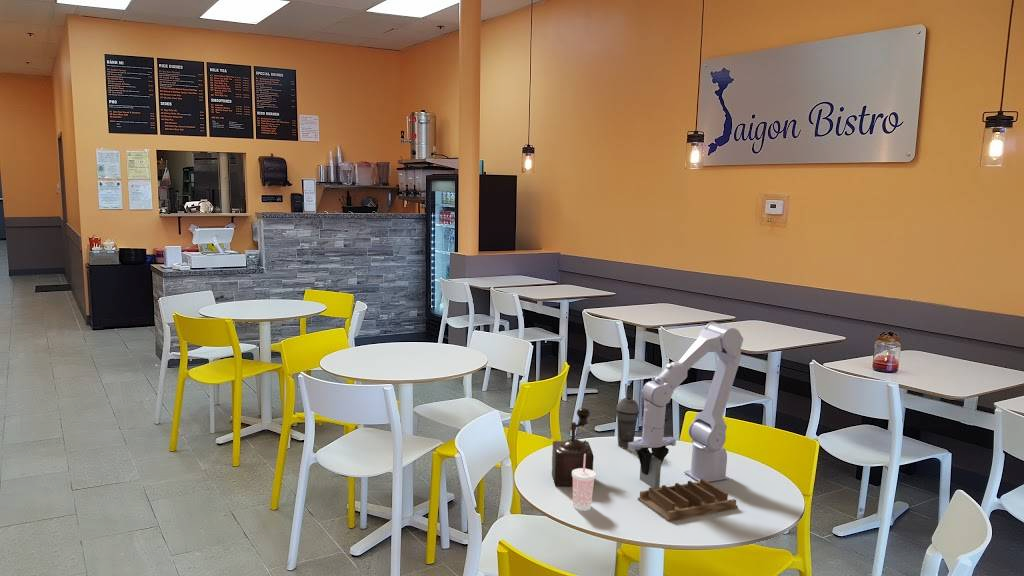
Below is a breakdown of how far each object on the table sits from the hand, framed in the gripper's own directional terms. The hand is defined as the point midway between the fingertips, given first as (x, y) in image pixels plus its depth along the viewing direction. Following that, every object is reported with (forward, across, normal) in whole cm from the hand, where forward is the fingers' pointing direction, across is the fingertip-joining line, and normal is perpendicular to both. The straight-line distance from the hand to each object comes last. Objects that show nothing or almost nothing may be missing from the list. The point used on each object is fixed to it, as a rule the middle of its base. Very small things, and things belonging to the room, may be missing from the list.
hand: (650, 472), depth 198 cm
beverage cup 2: (+3, -10, -27) cm, 29 cm away
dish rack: (+3, -2, +14) cm, 14 cm away
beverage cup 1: (+3, +25, +6) cm, 26 cm away
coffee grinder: (+3, +18, -12) cm, 22 cm away
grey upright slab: (+3, 0, 0) cm, 3 cm away
